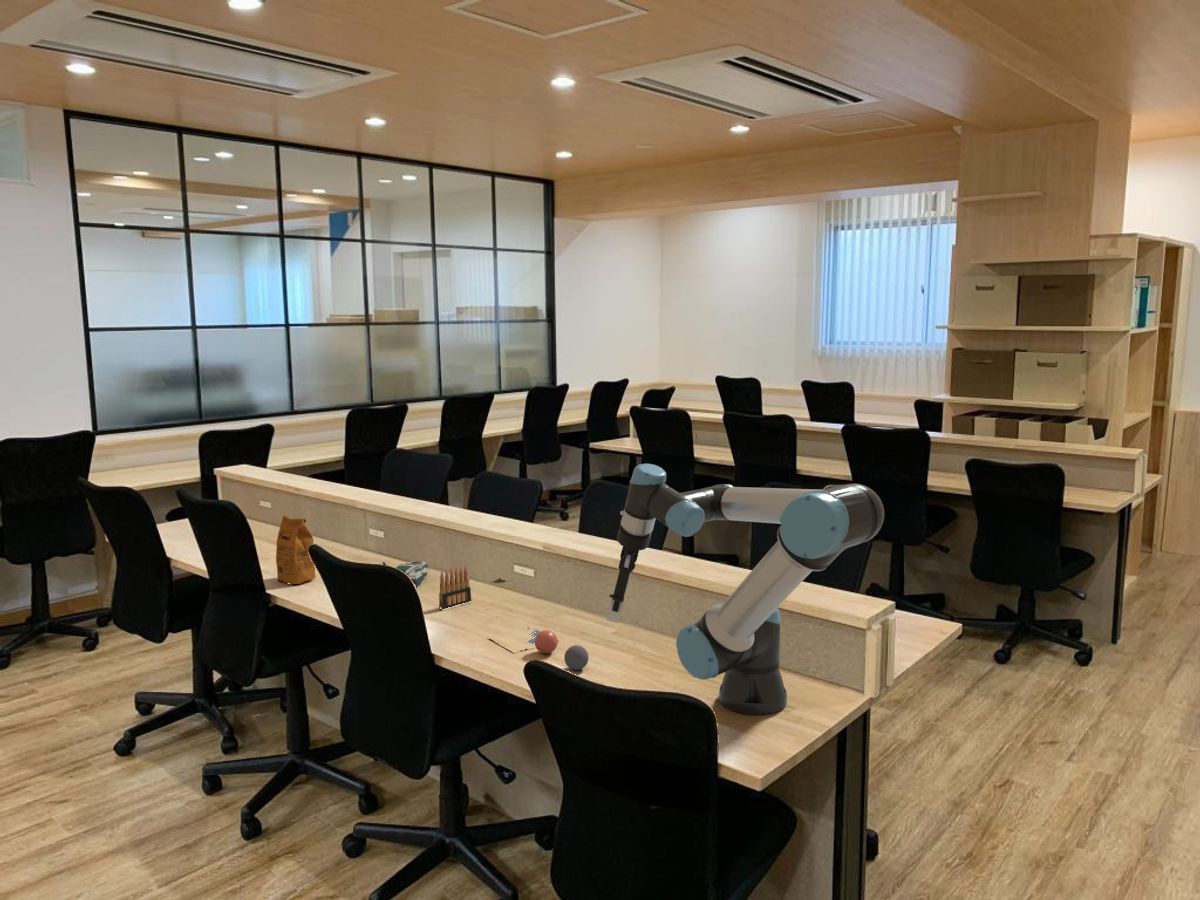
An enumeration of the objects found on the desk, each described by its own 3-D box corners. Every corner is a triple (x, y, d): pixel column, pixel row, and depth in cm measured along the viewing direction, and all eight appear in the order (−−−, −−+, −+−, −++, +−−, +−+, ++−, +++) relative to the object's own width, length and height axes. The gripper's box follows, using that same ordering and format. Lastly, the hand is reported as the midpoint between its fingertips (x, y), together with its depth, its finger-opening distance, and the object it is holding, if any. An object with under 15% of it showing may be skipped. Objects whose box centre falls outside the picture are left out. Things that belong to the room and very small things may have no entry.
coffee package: (298, 574, 315) (294, 511, 312) (320, 580, 308) (315, 516, 304) (272, 581, 308) (268, 517, 304) (294, 587, 300) (289, 521, 297)
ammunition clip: (468, 601, 283) (466, 563, 281) (471, 602, 281) (470, 564, 280) (439, 609, 275) (437, 570, 273) (442, 610, 274) (441, 572, 272)
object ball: (562, 653, 238) (561, 631, 237) (542, 658, 235) (542, 636, 234) (550, 646, 243) (549, 625, 242) (530, 652, 239) (530, 630, 238)
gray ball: (593, 670, 227) (593, 646, 226) (573, 675, 223) (572, 652, 222) (579, 662, 232) (579, 640, 231) (559, 668, 228) (559, 645, 227)
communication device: (438, 570, 320) (437, 545, 319) (418, 589, 296) (417, 563, 295) (404, 569, 321) (403, 545, 320) (382, 589, 297) (380, 562, 296)
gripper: (627, 502, 222) (609, 576, 230) (612, 548, 199) (592, 629, 207) (657, 509, 221) (638, 584, 230) (645, 557, 199) (624, 638, 207)
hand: (616, 605), depth 218 cm, fingers open, 13 cm apart
